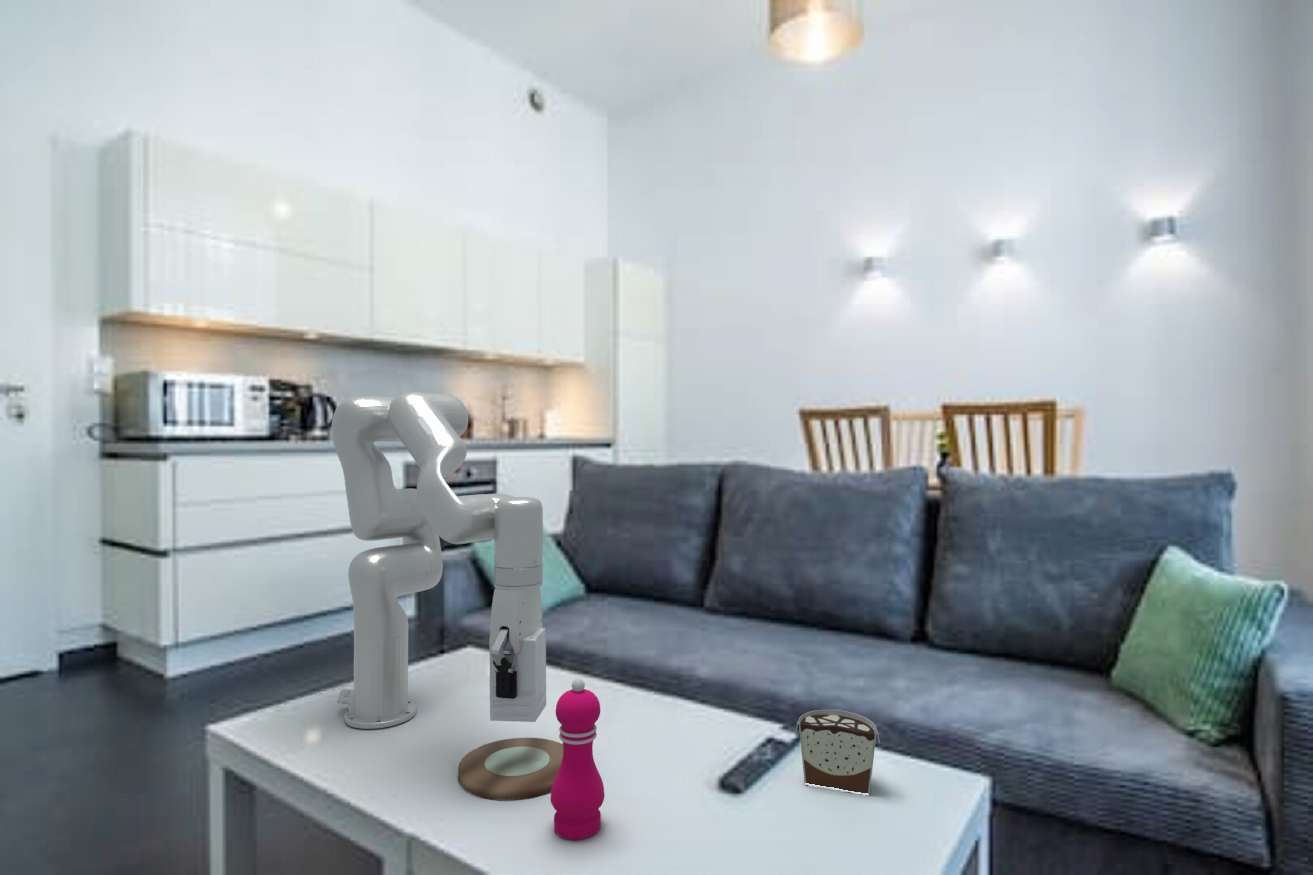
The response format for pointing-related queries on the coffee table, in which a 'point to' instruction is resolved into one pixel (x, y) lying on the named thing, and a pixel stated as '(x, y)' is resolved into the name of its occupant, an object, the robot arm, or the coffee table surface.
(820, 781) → the food container
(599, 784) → the pepper mill
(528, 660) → the supplement box
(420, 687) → the coffee table surface
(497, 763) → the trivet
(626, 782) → the coffee table surface
